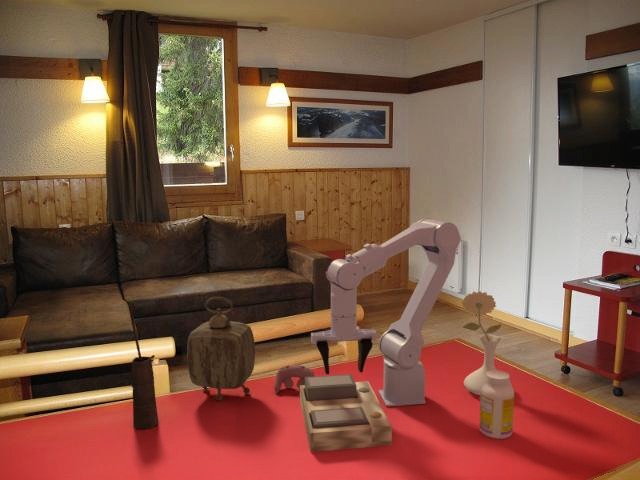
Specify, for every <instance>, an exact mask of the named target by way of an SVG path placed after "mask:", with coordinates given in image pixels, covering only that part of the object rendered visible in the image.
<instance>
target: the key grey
mask: <svg viewBox="0 0 640 480" xmlns="http://www.w3.org/2000/svg"><path fill="white" fill-rule="evenodd" d="M355 382H356V381H355V378H354V377H353V374H352V373H351V374H348V373H347V374H333V375H332V374H331V375H320V376H319V375H316V376H315V375H314V377H305V394H306V398H307V401H319V400H334V399H349V398H356V383H355Z"/></svg>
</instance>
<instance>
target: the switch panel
mask: <svg viewBox="0 0 640 480" xmlns="http://www.w3.org/2000/svg"><path fill="white" fill-rule="evenodd" d="M355 383H356V398H349V399H334V400H319V401H307V398H306V394H305V385H300V388H299V402H300V408H301V409H300V410H301V412H302V417H303V418H302V419H303V422H304V426H305V427H304V428H305V430H306V436H307V441H308V447H309V451H310V453H314V452H325V451H327V452H328V451H339V450H350V449H352V450H353V449H362V448H363V449H364V448H374V447H375V448H376V447H386V446H387V447H388V446H393V425H392V424H391V422H390V421H389V419H388V417H387V415H386V412H385V411H384V409H383V407H382V405H381V403H380V401H379V399H378V398H377V395H376V393H375V391H374V389H373V387H372V386H371V384H370V382H369V380H365V381H364V380H363V381H355ZM355 407H362V409H363V411H364V413H365V415H366V418H367V420H368V425H356V426H342V427H329V428H315V429H313V428H312V424H311V411H313V410H327V409H341V408H355Z"/></svg>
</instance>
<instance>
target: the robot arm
mask: <svg viewBox="0 0 640 480" xmlns="http://www.w3.org/2000/svg"><path fill="white" fill-rule="evenodd" d="M461 241H462V238H461V235H460V231H459V228H458V226H456V224H455V223H453V222H451V221H441V220H437V219H433V218H429V217H425V218H422V219H420V220H419V221H415V222H413V223H412V224H411V225H410V226H409V227H407V228H406V229H404V230H402V231H401V232H400V233H398V234H396V235H395V236H393V237H391V238H389V239H388V240H386V241H385V242H383V243H381V244H380V245H379V244H376V243H366V244H364V245H363V248H362V249H360V250H358V251H356V252H354V253H352V254H350V253H349V254H347V255H345V258H344V259H343V258H337V259H335V260H333V261H332V262H330V264H329V266H328V268H327V271H325V277H326V279H327V280H328V281H329V283H330V329H329V330H325V331H317V332H311V333H310V342H311V344H312V345H316V347H317V350H318V352H319V354H320V356H321V358H322V362H323V367H324V372H325V376H328V375H330V363H329V361H330V359H329V358H330V357H329V356H330V347H329V343H336V342H338V343H340V342H352V341H353V342H356V341H357V348H358V349H357V351H358V358H357V370H358V372H359V373H363V372H364V367H365V365H366V364H365V363H366V360H367V358H368V355H369V354H370V352H371V350H372V348H373V345H374V344H373V342H375V341H377V331H376V330H375V329H362V328H361V329H359V328H357V324H358V322H357V317H358V316H357V315H358V312H357V311H358V309H357V304H358V301H357V297H358V296H357V295H358V294H357V290H358V289H357V287H359V285H360V284H361V282H362V280H363V279H365V277H367V276H369V275H371V274H372V273H373V274H374V273H375V272H377V271H378V270H380V269H383V268H384V267H385V266H386V264H387V262H388V259H389V258H392V257H393V256H396V255H398V254H401V253H402V252H404V251H406V250H409V249H411V248H412V247H414V246H421V248H422V249H423V250H424V252H425V253H426V256H427V259H428V263H427V265H426V266H425V268H424V270H423V272H422V274H421V277H420V278H419V281H418V282H417V285H416V287H415V289H414V291H413V293H412V294H411V296H410V298H409V300H408V303H407V304H406V307H405V309H404V311H403V312H402V315H401V317H400V319H399V320H397V321H395V322H393V323H391V324H390V325H389V328H388V329H387V330H386V331H385V332H384V333H383V334H382V335H381V336H380V338H379V341H378V350H379V351H380V353H381V354H383V356H382V357H383V358H382V359H383V388H382V389H379V390H378V394H379V395H380V397H381V399H382V401H383V404H385V406H386V407H401V406H413V405H415V406H416V405H426V402H427V401H426V400H425V399H426V397H425V394H426V393H425V392H426V372H425V366H424V365H423V363H422V362H421V361H420V359H421V355H422V348H423V345H424V344H425V340H424V336H423V333H422V329H423V328H424V325H425V323H426V321H427V319H428V317H429V315H430V314H431V312H432V309H433V307H434V305H435V304H436V302H437V299H438V297H439V295H440V294H441V291H442V289H443V287H444V285H445V283H446V282H447V279H448V278H449V275H450V273H451V271H452V269H453V267H454V265H455V260H456V253H457V250H458V247H459V245H460V243H461Z"/></svg>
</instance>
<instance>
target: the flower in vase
mask: <svg viewBox="0 0 640 480" xmlns="http://www.w3.org/2000/svg"><path fill="white" fill-rule="evenodd" d="M461 305H462V307H463V308H464V311H465V312H467V313H468V314H472V315H475V316H478V324H477V323H475V322H469V323H468V322H467V323H465V325H463V326H462V328H463V329H467V330H471V331H477V330H479V329H481V330H482V332H483V334H481V335H480V336H478V337H479V340H480V341H481V343H482V345H483V350H484V351H483V352H484V353H483V355H484V360H483V364H482V366H481V367H480V368H478V369H476V370H475V371H472V372H470V374H469V375H467V376H466V377H465V379H464V380H463V385H464V386H465V388H466V390H467V391H469V392H471V393H472V394H475V395H477V396H480V397H481V387H482V385H483V384H484V383H486V382H487V380H486V373H487V372H488V371H491V370H498V369H497V367H496V366H495V353H496V349H497V345H498V344H499V343H500V341H501V340H502V338H501V337H500V336H498V335H495V334H493V333H496V332H497V331H499V330H500V328H501V327H502V323H500V324H496V325H491V326H489V327H488V329H486V331H485V330H484V328H483V326H482V323H481V316H482V315H486V314H491V313H492V312H493V311H494V309H495V308H497V305H496V301H495V298H494V296H493V295H489V294H488V293H487V292H486V291H484V292H482V291H478V292H476V291H472V293H468V294H467V295H465V297H463V300H462V301H461ZM508 385H510V386H511V387H512V388H513V385H512V382H511V381H510V382H509V384H508Z"/></svg>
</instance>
